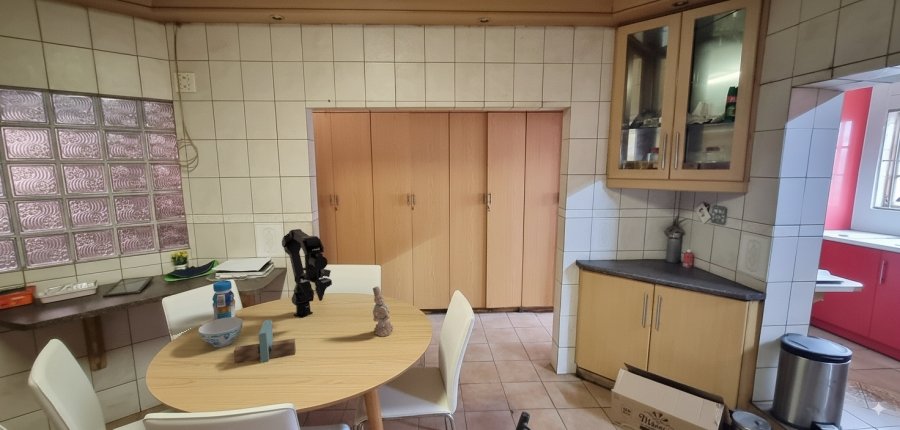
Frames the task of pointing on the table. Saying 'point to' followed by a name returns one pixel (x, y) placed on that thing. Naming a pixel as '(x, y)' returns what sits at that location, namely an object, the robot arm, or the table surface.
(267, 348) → the teal slotted plate
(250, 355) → the walnut slotted rail
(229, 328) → the chinaware
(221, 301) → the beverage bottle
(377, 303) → the figurine
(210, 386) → the table surface
